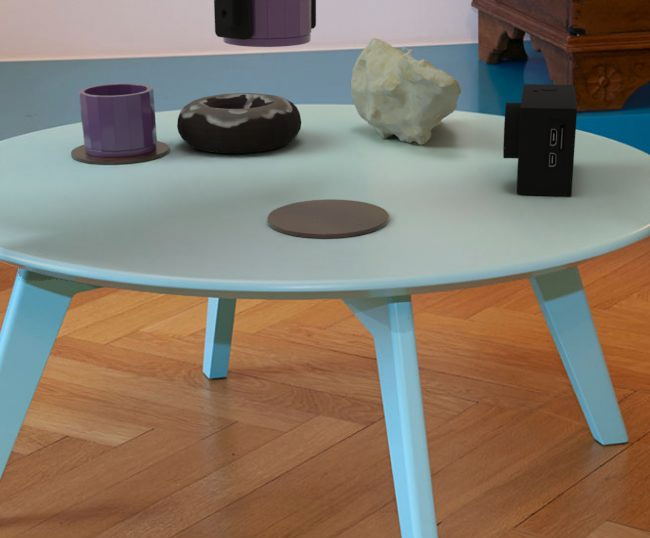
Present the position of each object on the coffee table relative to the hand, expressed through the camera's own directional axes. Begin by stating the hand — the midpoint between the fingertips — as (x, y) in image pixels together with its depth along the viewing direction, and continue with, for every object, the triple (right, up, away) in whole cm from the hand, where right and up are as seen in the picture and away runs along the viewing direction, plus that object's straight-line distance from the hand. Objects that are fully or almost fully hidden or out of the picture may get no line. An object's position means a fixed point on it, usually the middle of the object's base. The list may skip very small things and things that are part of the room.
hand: (266, 30), depth 85 cm
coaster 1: (-15, -6, +20) cm, 25 cm away
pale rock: (+14, -5, +23) cm, 27 cm away
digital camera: (+22, -10, +9) cm, 26 cm away
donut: (-4, -5, +23) cm, 23 cm away
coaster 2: (+5, -14, -1) cm, 15 cm away
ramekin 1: (-14, -6, +20) cm, 25 cm away
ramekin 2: (0, -1, 0) cm, 1 cm away
